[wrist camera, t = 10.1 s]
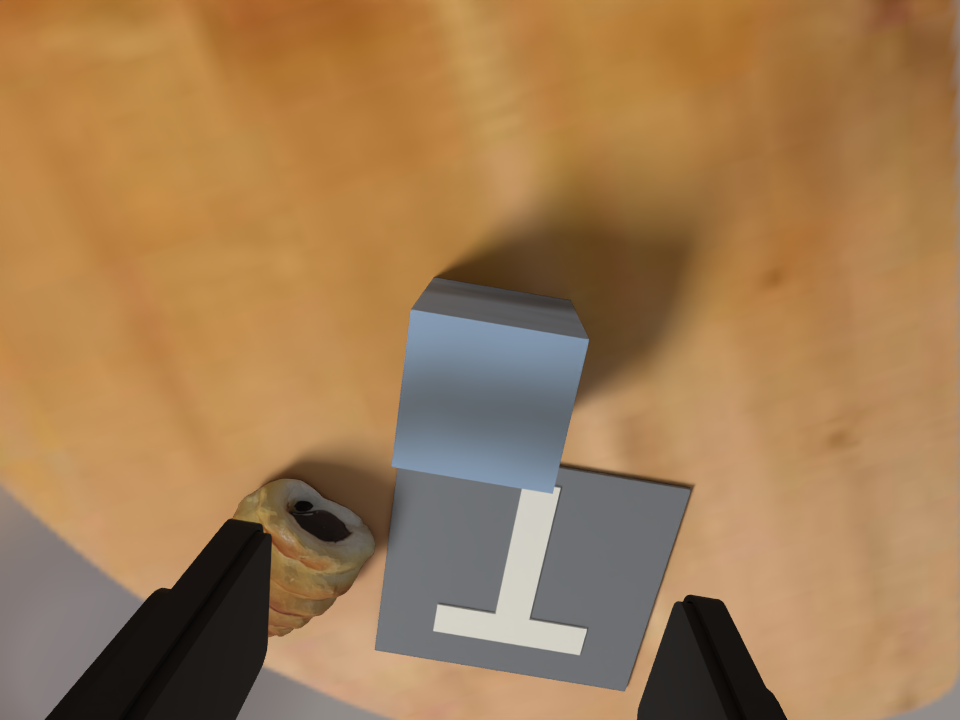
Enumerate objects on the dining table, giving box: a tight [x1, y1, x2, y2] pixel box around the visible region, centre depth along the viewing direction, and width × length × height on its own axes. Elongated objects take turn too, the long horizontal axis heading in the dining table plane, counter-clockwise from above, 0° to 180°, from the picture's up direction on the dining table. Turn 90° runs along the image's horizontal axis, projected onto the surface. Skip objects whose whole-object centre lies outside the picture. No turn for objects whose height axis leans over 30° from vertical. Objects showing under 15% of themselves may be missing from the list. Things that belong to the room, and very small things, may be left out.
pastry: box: [232, 479, 375, 637], centre depth 28 cm, size 9×7×4 cm
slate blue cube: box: [392, 277, 589, 494], centre depth 22 cm, size 6×6×6 cm
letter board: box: [375, 466, 691, 691], centre depth 29 cm, size 13×14×1 cm
